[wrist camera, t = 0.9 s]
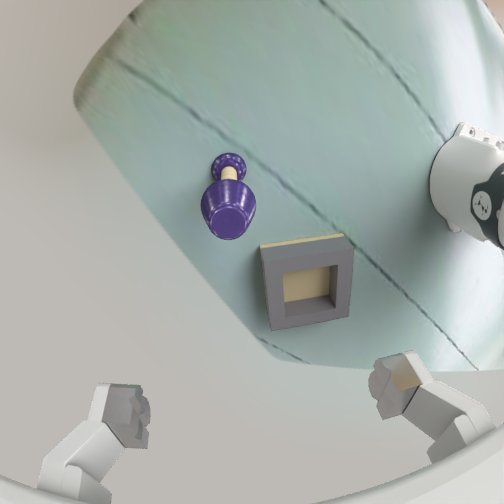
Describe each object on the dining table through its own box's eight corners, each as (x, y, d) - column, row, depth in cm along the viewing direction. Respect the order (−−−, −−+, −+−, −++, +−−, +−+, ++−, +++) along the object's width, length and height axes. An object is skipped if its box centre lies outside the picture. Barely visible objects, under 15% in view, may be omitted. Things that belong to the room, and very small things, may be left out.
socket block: (342, 233, 43) (353, 247, 39) (339, 299, 48) (348, 316, 44) (259, 245, 42) (263, 261, 38) (267, 311, 48) (271, 330, 44)
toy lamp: (232, 194, 38) (240, 260, 24) (200, 177, 37) (187, 233, 22) (252, 163, 37) (275, 210, 22) (220, 144, 35) (219, 178, 21)
